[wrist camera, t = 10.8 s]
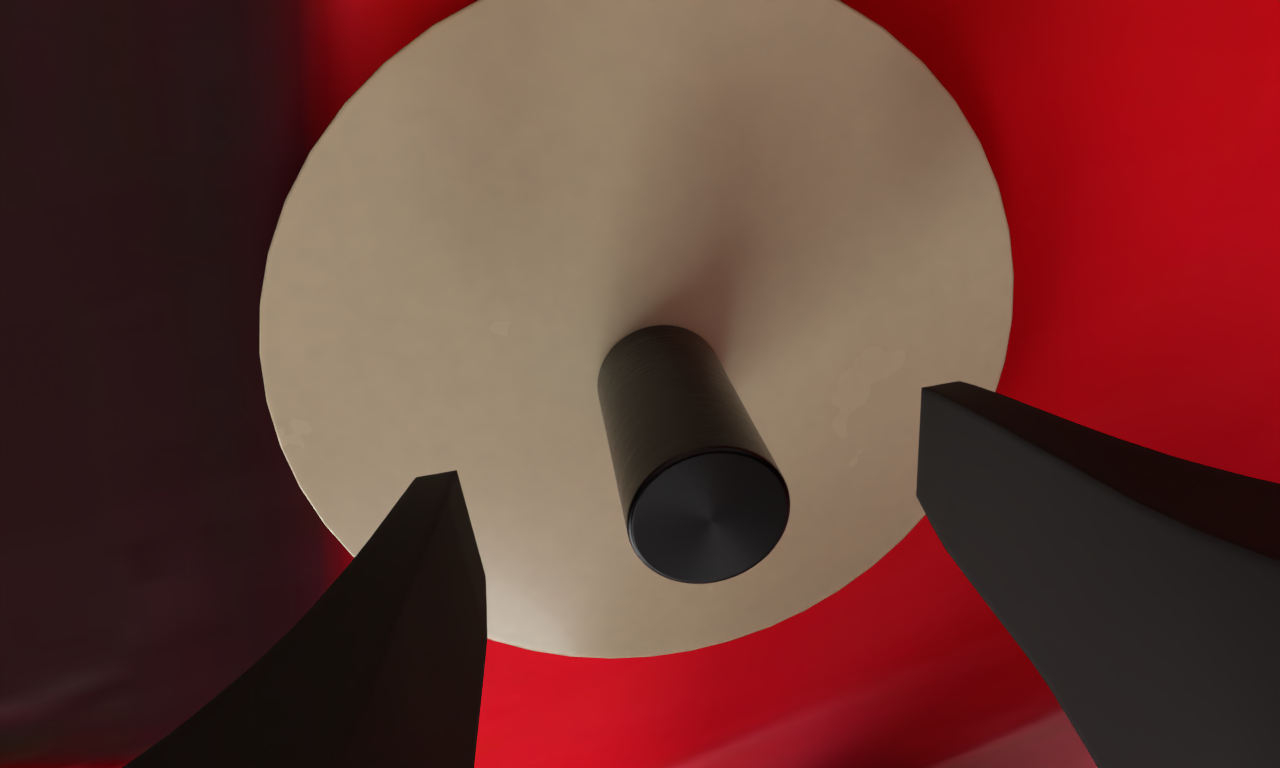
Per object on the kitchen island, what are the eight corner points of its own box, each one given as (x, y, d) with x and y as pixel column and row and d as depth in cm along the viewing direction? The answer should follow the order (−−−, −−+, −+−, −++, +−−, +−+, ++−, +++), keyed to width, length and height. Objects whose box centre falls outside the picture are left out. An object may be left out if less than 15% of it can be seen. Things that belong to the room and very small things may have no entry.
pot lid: (389, 675, 19) (346, 918, 14) (146, 22, 12) (-98, 48, 7) (961, 563, 20) (1108, 752, 15) (1019, -95, 13) (1314, -140, 8)
